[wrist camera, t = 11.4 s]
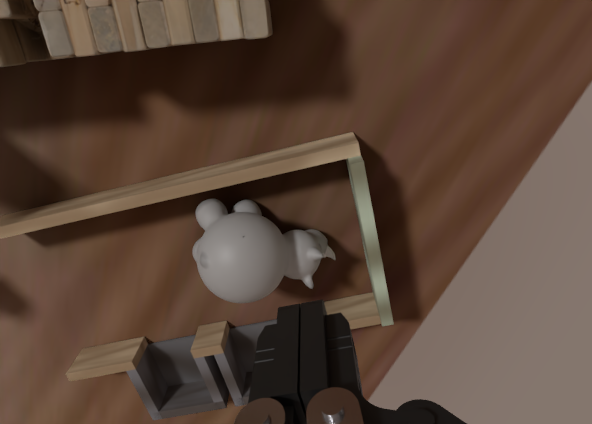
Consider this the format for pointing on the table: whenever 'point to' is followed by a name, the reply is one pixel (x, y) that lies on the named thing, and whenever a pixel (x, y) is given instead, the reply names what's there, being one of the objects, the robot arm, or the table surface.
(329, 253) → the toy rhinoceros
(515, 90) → the table surface
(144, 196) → the trap channel
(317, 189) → the table surface
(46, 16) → the block tower
